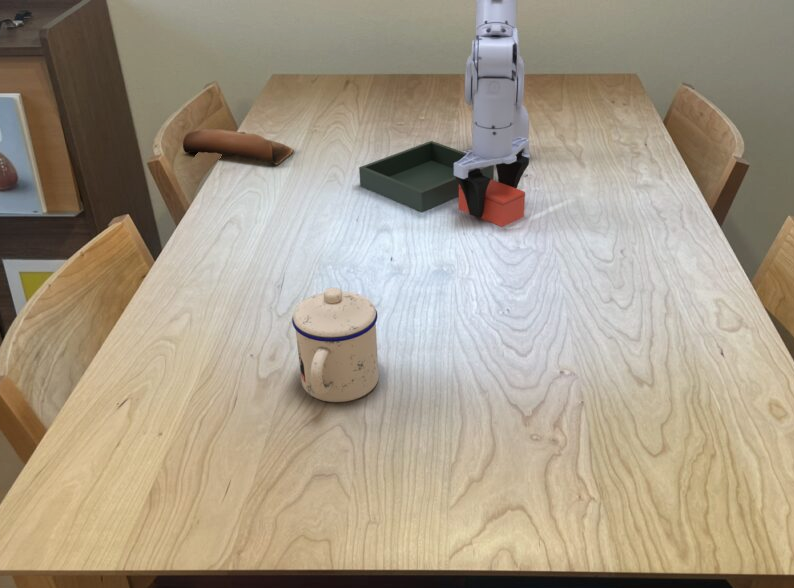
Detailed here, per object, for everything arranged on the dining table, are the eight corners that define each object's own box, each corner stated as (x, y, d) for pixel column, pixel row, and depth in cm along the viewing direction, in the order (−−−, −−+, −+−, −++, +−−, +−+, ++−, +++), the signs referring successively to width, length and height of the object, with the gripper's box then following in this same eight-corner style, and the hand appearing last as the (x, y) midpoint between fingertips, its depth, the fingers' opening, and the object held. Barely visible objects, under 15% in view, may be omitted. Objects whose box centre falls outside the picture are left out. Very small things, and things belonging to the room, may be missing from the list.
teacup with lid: (315, 353, 103) (305, 266, 97) (389, 362, 102) (385, 274, 95) (278, 416, 94) (265, 323, 87) (360, 426, 92) (353, 333, 86)
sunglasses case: (296, 147, 156) (284, 122, 151) (283, 179, 154) (270, 155, 148) (208, 136, 161) (192, 111, 155) (193, 167, 158) (177, 143, 153)
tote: (431, 161, 153) (431, 140, 151) (493, 184, 144) (494, 163, 142) (360, 188, 143) (358, 167, 141) (422, 215, 135) (421, 192, 133)
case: (480, 201, 139) (480, 175, 136) (524, 219, 134) (525, 191, 131) (458, 211, 136) (458, 184, 133) (502, 229, 131) (503, 201, 128)
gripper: (479, 142, 120) (478, 232, 127) (546, 116, 128) (541, 201, 136) (443, 129, 124) (443, 217, 132) (510, 105, 133) (507, 188, 140)
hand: (491, 208), depth 134 cm, fingers open, 6 cm apart
